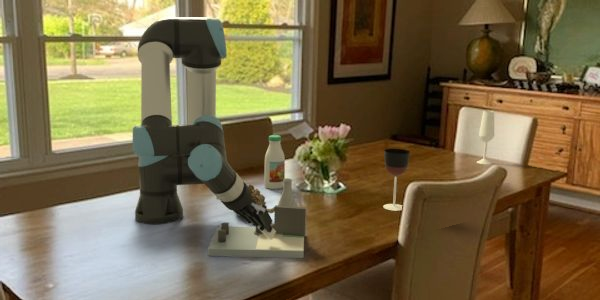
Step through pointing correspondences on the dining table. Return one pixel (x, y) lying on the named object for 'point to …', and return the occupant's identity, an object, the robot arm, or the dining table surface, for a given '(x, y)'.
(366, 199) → the dining table surface
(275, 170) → the milk bottle
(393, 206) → the wineglass
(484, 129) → the champagne flute
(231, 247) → the board
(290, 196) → the flask
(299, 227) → the gate
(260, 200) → the pine cone
